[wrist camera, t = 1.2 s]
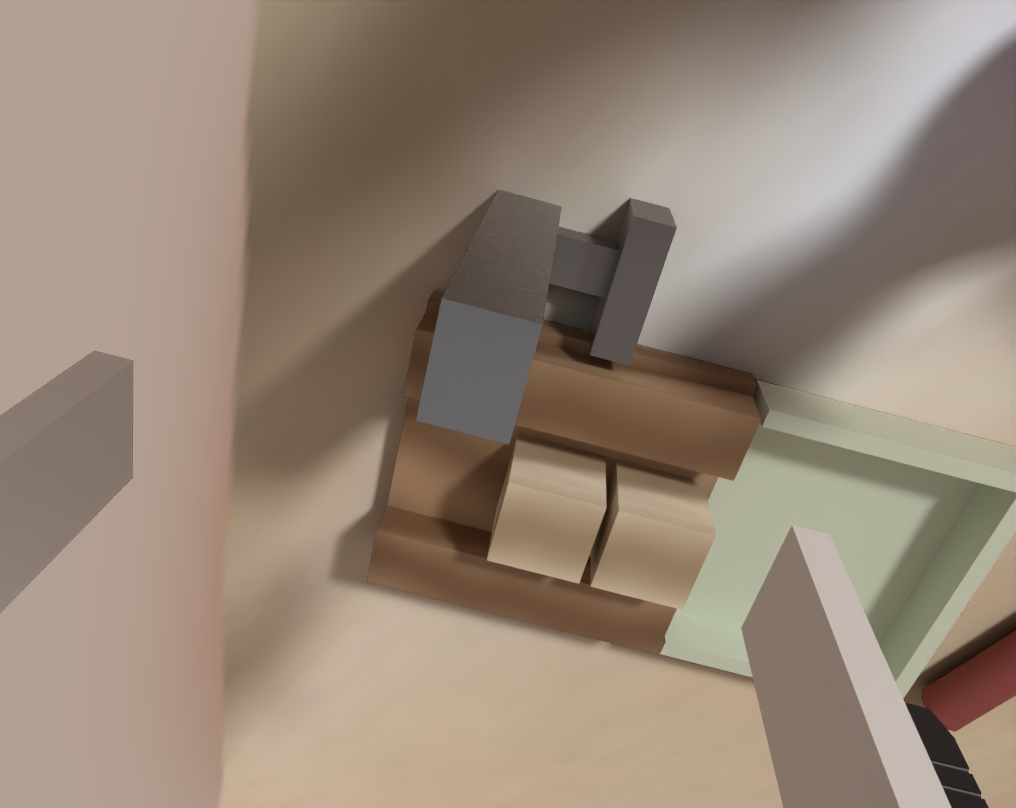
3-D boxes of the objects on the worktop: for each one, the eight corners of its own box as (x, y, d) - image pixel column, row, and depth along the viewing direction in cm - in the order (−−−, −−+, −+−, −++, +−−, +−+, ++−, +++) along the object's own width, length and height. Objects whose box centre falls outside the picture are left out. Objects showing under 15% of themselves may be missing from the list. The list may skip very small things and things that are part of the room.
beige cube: (517, 433, 35) (509, 482, 31) (605, 456, 35) (606, 507, 31) (496, 506, 36) (486, 560, 33) (580, 527, 37) (579, 583, 33)
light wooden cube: (616, 459, 35) (618, 510, 31) (703, 481, 35) (716, 535, 31) (591, 530, 37) (590, 586, 33) (674, 551, 37) (682, 609, 33)
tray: (756, 379, 34) (769, 409, 31) (1015, 447, 34) (1049, 482, 31) (655, 613, 40) (660, 654, 37) (875, 669, 40) (893, 713, 38)
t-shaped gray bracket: (503, 164, 31) (449, 260, 19) (669, 208, 31) (714, 329, 19) (473, 296, 33) (409, 451, 22) (626, 336, 33) (643, 511, 22)
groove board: (433, 291, 33) (418, 317, 30) (751, 374, 34) (766, 408, 31) (381, 547, 40) (364, 589, 37) (649, 615, 40) (653, 661, 37)
